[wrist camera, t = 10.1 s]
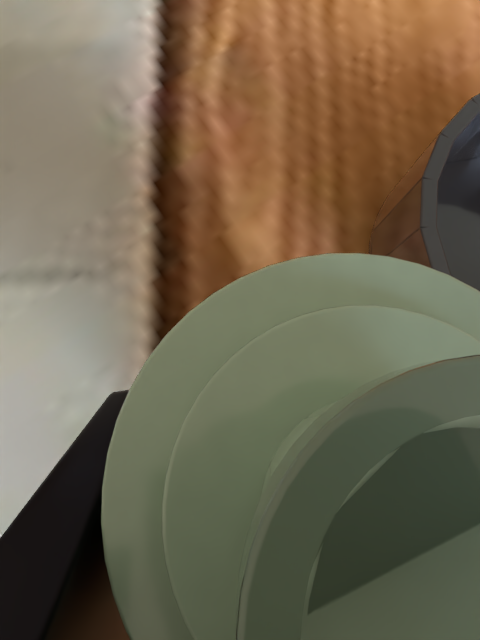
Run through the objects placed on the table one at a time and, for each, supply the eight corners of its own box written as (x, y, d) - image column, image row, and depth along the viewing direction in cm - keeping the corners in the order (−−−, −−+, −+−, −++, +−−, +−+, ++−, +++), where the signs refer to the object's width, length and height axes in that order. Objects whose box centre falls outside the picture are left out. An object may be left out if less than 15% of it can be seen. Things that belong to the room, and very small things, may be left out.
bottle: (394, 505, 14) (1435, 1247, 2) (205, 551, 13) (-3, 1785, 2) (346, 319, 15) (833, 14, 3) (168, 358, 14) (-145, 201, 2)
